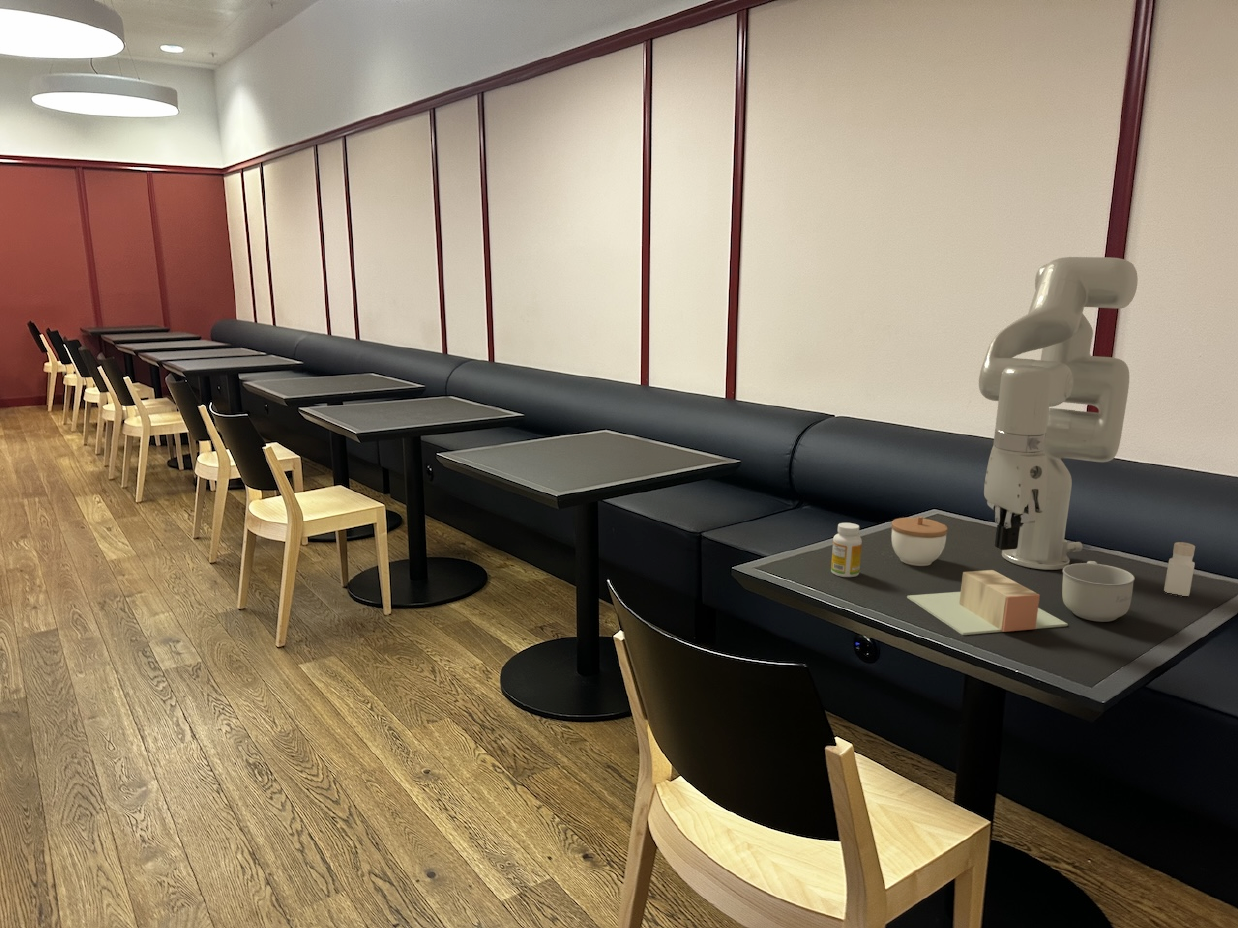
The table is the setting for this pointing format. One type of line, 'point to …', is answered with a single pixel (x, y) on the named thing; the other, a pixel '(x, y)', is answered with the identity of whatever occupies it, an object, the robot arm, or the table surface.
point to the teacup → (1097, 591)
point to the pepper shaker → (1180, 569)
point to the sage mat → (969, 614)
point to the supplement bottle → (846, 551)
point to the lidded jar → (918, 540)
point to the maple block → (999, 600)
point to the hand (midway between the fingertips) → (1005, 547)
